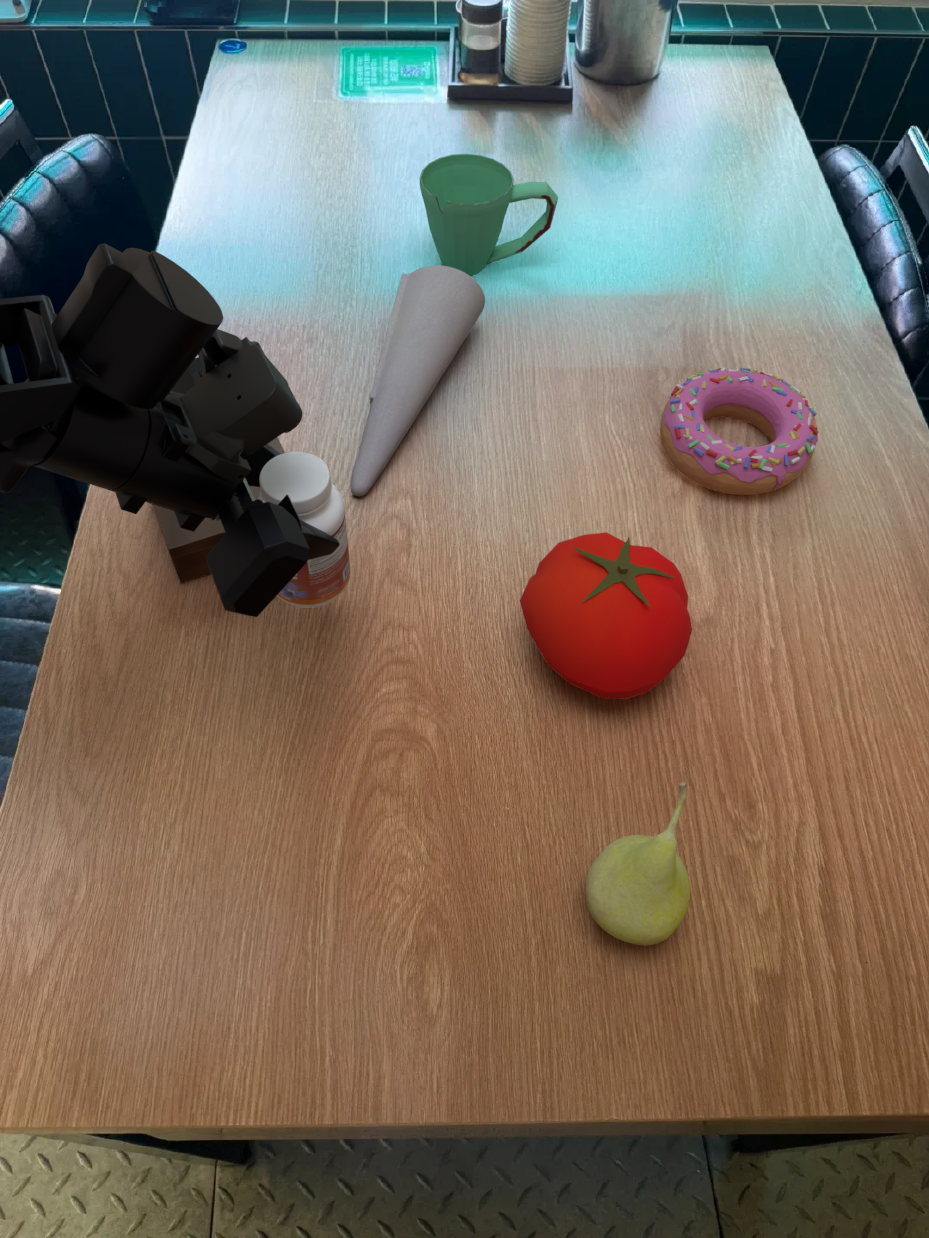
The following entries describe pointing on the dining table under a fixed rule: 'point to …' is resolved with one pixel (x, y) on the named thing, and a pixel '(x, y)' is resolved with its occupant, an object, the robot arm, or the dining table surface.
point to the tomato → (608, 615)
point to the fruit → (640, 885)
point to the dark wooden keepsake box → (195, 537)
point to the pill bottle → (318, 508)
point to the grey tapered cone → (414, 359)
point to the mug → (477, 209)
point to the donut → (749, 401)
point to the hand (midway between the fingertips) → (319, 515)
